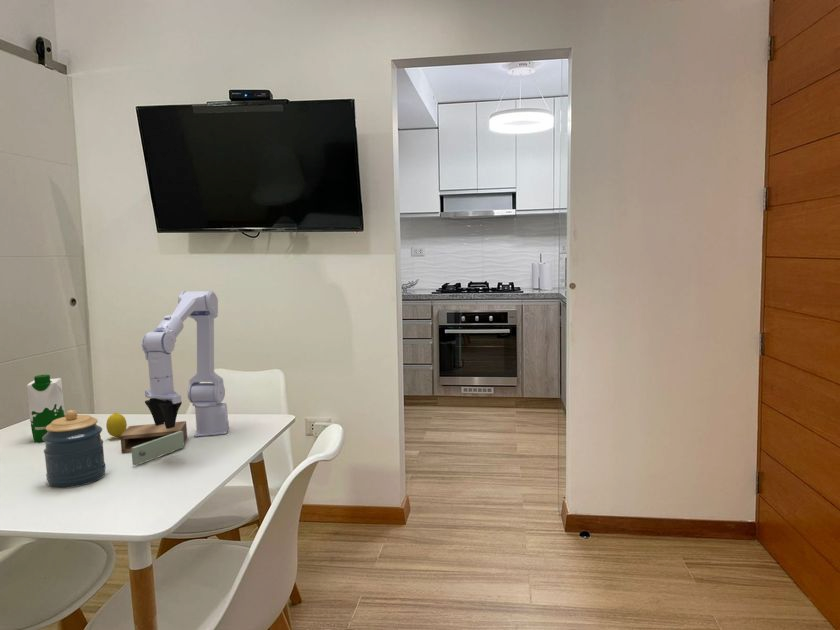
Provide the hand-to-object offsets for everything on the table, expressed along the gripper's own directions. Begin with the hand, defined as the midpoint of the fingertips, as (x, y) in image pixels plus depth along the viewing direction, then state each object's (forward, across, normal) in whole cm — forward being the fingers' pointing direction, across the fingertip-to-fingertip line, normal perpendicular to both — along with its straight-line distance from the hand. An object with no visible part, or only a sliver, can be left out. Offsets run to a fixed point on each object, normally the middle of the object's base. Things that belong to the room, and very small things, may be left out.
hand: (165, 426), depth 162 cm
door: (+9, -4, 0) cm, 10 cm away
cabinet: (+9, -16, +5) cm, 19 cm away
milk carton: (+10, -51, -9) cm, 53 cm away
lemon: (+10, -32, +2) cm, 34 cm away
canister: (+10, -7, -20) cm, 23 cm away
